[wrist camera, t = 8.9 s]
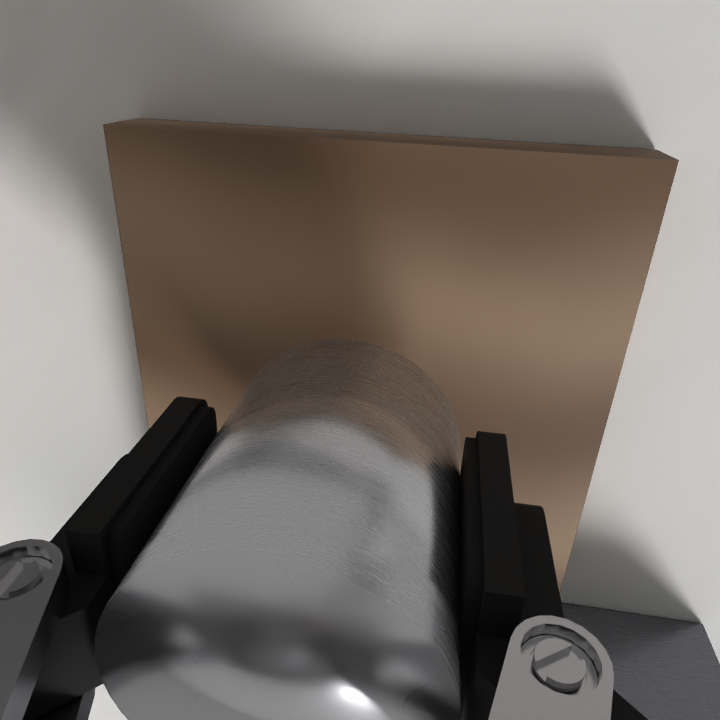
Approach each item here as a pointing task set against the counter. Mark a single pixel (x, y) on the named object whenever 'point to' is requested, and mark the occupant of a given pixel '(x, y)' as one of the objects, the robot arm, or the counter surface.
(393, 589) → the cylinder
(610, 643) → the scale
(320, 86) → the counter surface
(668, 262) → the counter surface
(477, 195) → the walnut board
